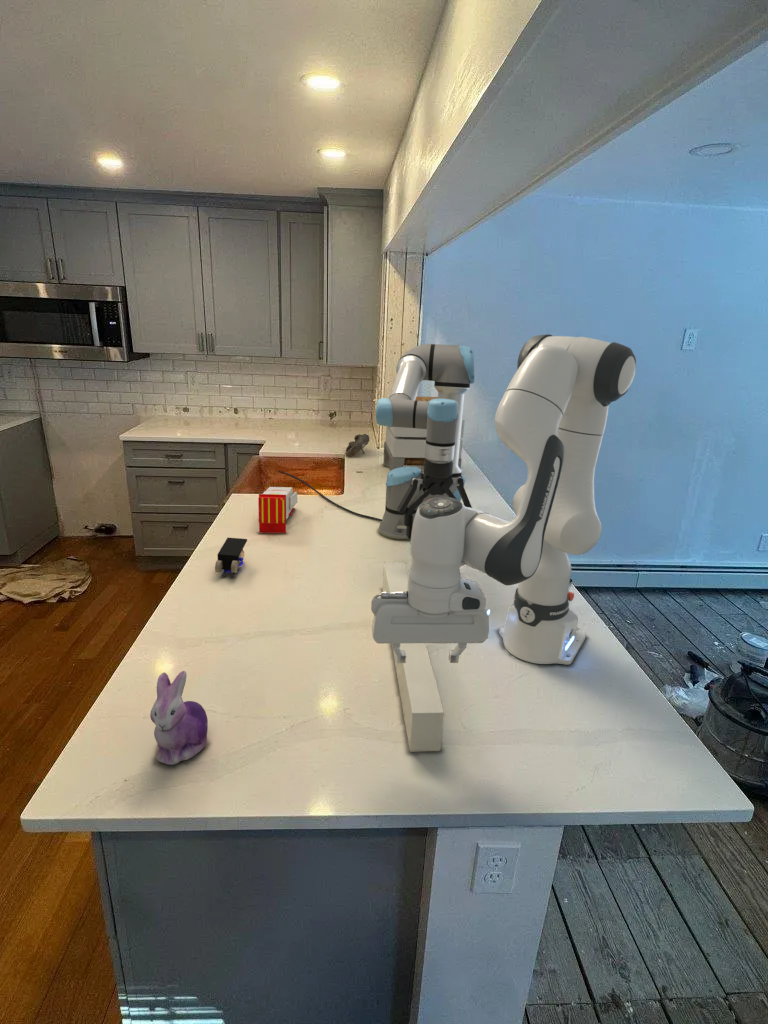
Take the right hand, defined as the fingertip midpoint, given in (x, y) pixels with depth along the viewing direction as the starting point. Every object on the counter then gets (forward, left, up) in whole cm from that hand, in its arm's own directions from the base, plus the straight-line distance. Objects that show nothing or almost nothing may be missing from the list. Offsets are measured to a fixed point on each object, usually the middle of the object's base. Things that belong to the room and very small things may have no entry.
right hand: (427, 661), depth 101 cm
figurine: (+33, -27, -16) cm, 46 cm away
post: (-18, -20, -16) cm, 31 cm away
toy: (-48, -108, -16) cm, 119 cm away
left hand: (-45, -35, +1) cm, 57 cm away
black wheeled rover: (-12, -83, -16) cm, 85 cm away
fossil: (-141, -163, -16) cm, 216 cm away
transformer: (-137, -116, -16) cm, 180 cm away
